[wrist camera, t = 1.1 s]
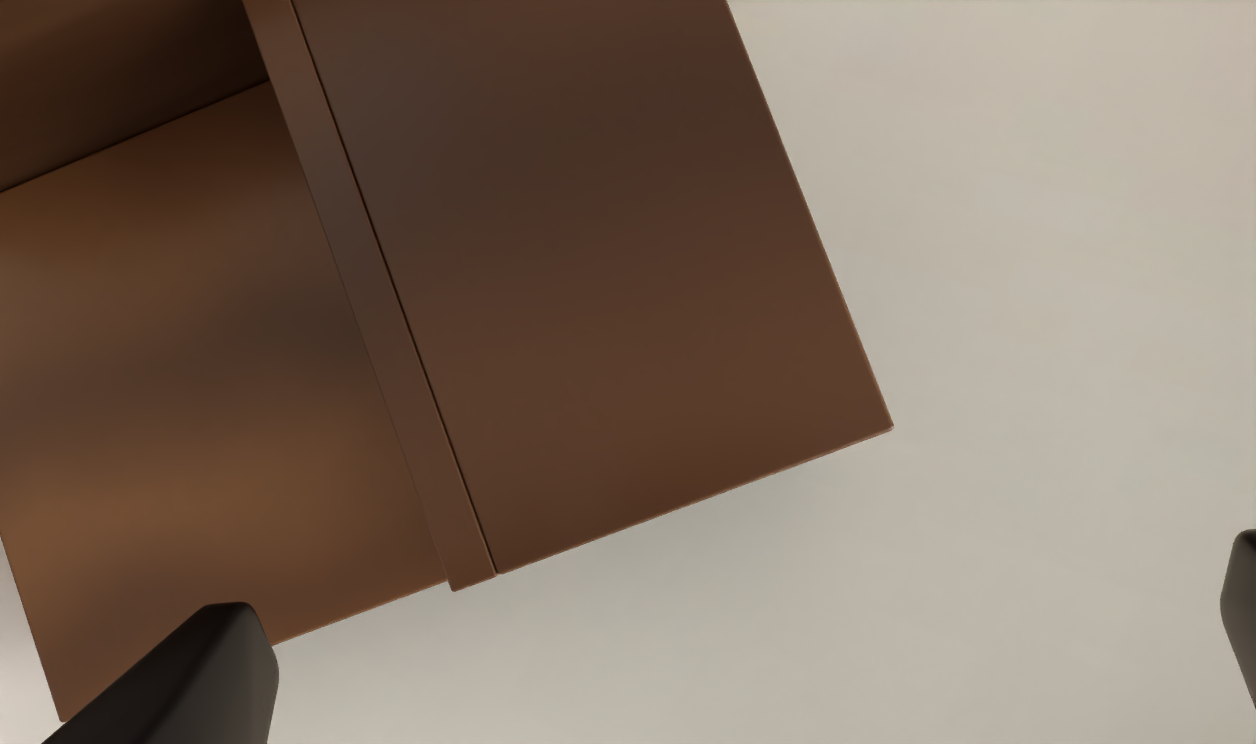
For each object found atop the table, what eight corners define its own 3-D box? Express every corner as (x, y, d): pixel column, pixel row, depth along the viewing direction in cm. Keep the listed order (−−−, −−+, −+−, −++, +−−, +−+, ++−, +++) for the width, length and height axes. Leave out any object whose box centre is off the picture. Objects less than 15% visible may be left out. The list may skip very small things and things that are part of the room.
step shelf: (842, 424, 24) (919, 431, 14) (164, 676, 26) (-200, 842, 16) (660, -45, 25) (609, -349, 15) (14, 223, 26) (-421, 107, 16)
